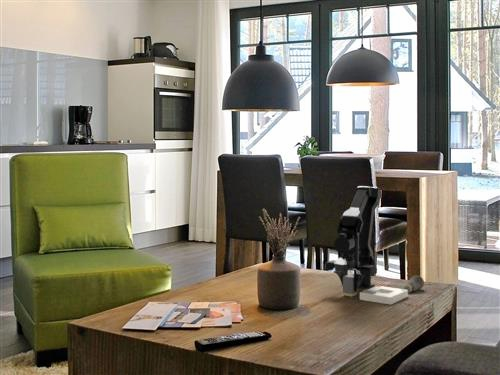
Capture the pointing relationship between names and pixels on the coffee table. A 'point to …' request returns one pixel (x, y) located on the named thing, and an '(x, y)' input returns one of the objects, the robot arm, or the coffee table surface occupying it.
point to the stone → (414, 283)
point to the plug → (349, 285)
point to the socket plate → (383, 294)
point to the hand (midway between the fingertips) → (350, 290)
